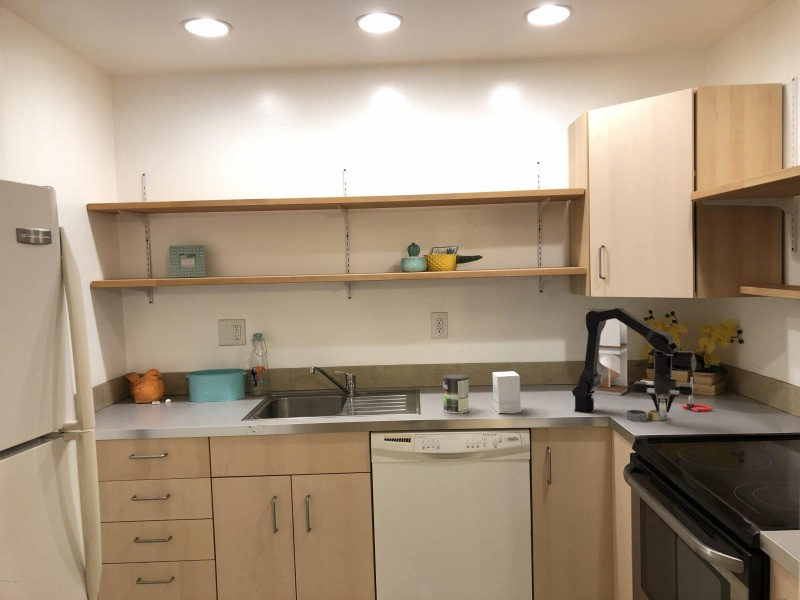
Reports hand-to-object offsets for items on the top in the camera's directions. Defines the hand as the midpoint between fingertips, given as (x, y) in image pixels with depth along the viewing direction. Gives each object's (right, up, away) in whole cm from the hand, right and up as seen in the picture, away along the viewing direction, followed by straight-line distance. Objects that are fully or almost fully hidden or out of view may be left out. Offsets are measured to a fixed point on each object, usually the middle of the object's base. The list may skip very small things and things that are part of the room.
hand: (662, 411), depth 205 cm
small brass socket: (0, -4, +6) cm, 7 cm away
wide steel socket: (-7, -4, +6) cm, 10 cm away
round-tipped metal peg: (0, -2, 0) cm, 2 cm away
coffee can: (-71, -5, +26) cm, 76 cm away
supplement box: (-51, -4, +23) cm, 56 cm away
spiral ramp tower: (0, -1, +50) cm, 50 cm away
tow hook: (+21, -3, +17) cm, 27 cm away
